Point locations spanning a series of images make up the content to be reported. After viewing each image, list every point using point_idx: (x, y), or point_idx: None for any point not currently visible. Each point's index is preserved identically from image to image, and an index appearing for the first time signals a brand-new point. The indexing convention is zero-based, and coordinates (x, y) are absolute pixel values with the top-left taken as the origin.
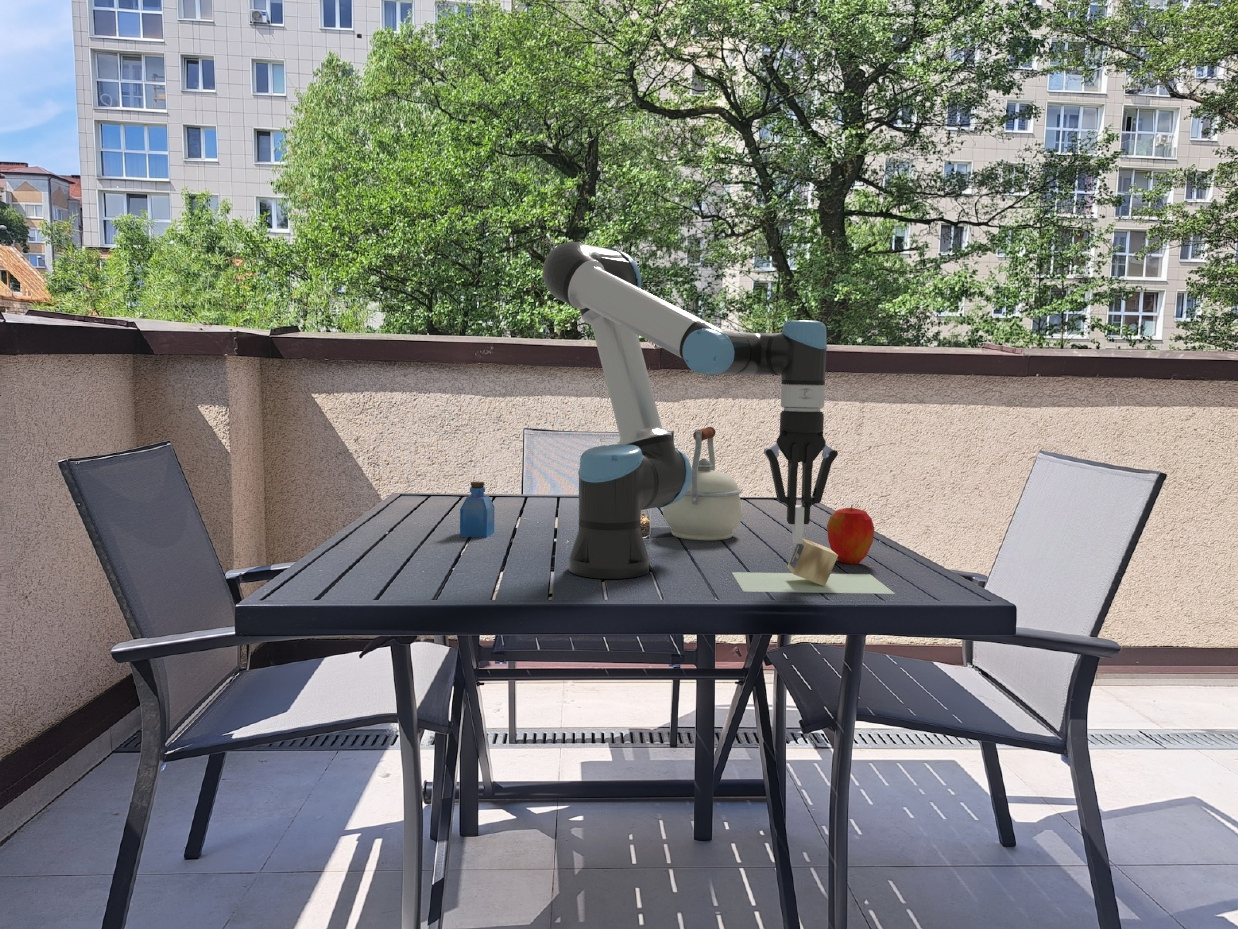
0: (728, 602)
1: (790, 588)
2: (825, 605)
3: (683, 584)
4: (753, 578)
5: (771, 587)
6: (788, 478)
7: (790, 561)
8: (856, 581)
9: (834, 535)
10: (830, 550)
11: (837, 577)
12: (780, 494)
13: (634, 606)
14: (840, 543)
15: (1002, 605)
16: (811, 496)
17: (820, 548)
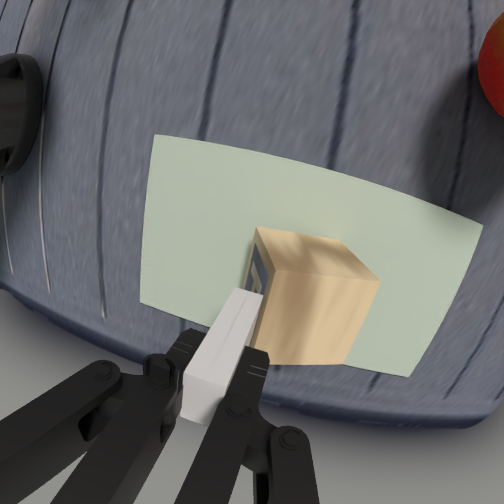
0: (117, 334)
1: None
2: None
3: (68, 213)
4: (182, 205)
5: (195, 290)
6: (80, 479)
7: (256, 246)
8: (413, 284)
9: (501, 76)
10: (352, 325)
11: (397, 237)
12: (90, 422)
13: (34, 309)
14: (501, 100)
15: (485, 416)
16: (258, 454)
17: (293, 364)
